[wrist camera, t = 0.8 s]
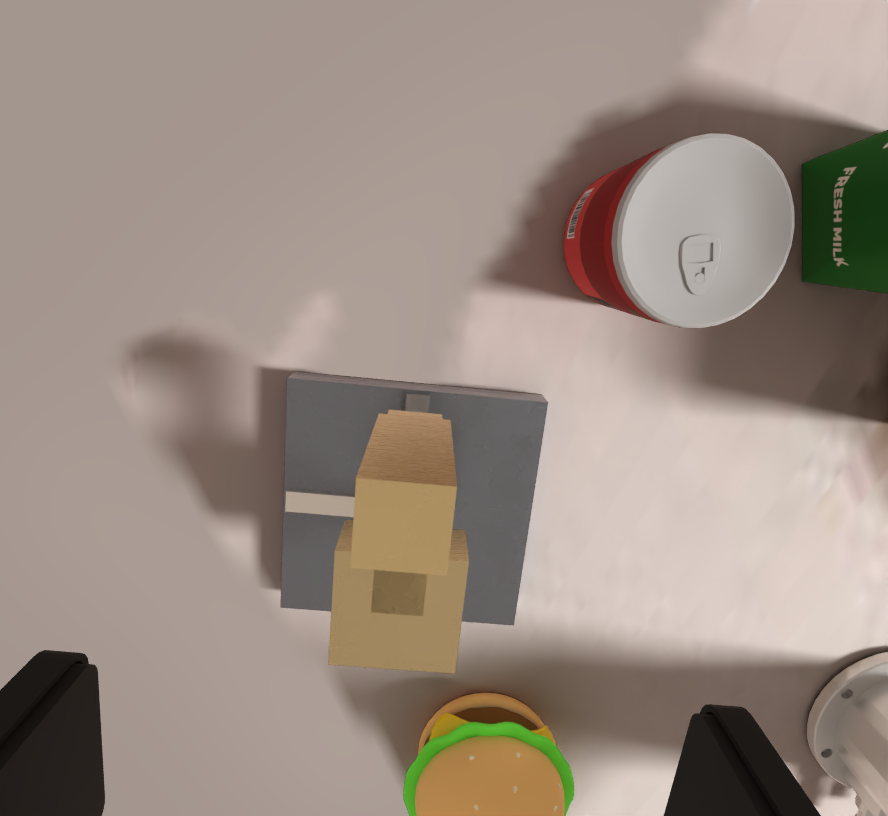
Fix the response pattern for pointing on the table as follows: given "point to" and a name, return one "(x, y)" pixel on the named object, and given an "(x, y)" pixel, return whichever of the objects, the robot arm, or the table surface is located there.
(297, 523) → the grey slotted plate
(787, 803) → the robot arm
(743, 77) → the table surface
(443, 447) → the wooden zigzag joint
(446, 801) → the hamburger
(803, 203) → the milk carton
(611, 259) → the canned food
